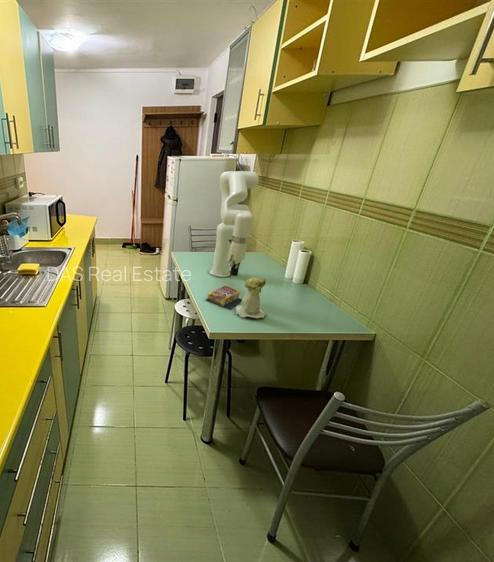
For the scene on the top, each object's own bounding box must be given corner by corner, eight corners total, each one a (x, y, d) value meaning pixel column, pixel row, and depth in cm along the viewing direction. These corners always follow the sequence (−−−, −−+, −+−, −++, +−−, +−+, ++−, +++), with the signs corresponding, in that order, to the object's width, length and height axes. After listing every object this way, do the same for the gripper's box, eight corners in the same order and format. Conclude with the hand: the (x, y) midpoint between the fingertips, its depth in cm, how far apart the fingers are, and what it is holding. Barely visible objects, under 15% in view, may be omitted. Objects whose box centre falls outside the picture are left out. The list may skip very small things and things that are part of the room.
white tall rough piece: (268, 321, 136) (278, 284, 129) (239, 319, 137) (247, 282, 129) (259, 308, 147) (267, 273, 140) (232, 307, 148) (239, 272, 140)
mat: (219, 292, 163) (219, 291, 163) (242, 300, 155) (243, 299, 155) (206, 300, 154) (206, 299, 154) (230, 309, 146) (230, 308, 146)
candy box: (240, 290, 155) (223, 299, 146) (239, 298, 156) (222, 307, 148) (225, 284, 161) (208, 292, 152) (224, 291, 163) (206, 300, 154)
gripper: (239, 235, 153) (233, 269, 160) (225, 240, 143) (219, 276, 150) (254, 238, 148) (247, 273, 155) (240, 244, 138) (233, 281, 145)
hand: (233, 274), depth 153 cm, fingers closed
